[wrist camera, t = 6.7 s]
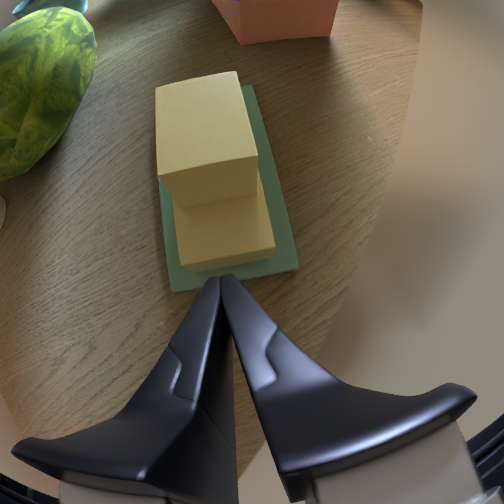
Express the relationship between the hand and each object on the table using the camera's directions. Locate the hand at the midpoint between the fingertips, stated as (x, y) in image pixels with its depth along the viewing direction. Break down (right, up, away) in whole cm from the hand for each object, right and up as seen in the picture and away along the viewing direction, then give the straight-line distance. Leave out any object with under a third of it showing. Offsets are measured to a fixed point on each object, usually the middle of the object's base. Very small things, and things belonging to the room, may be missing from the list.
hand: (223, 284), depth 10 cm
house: (+2, +35, +18) cm, 39 cm away
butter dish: (-2, +7, +12) cm, 14 cm away
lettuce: (-22, +18, +14) cm, 32 cm away
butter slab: (-2, +7, +7) cm, 10 cm away
